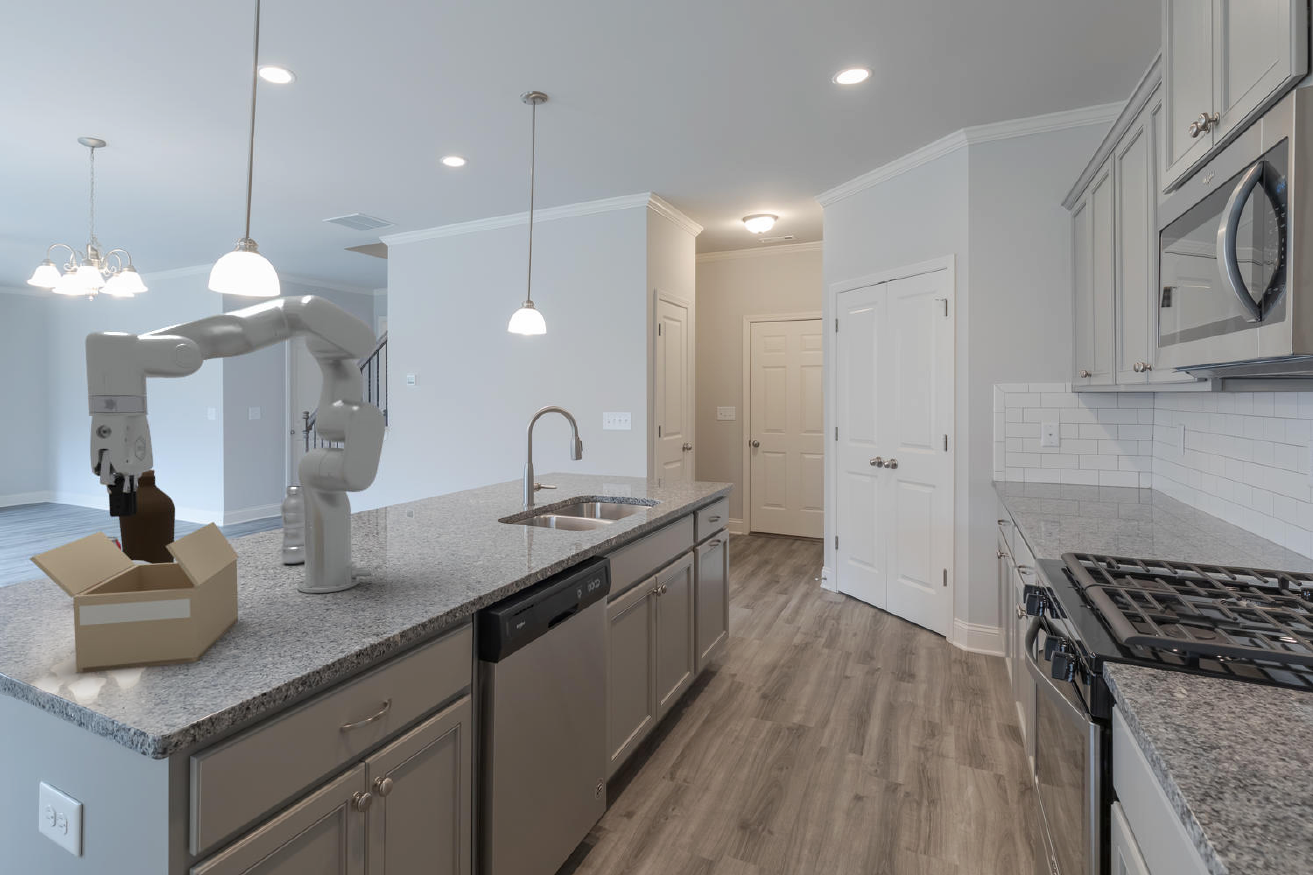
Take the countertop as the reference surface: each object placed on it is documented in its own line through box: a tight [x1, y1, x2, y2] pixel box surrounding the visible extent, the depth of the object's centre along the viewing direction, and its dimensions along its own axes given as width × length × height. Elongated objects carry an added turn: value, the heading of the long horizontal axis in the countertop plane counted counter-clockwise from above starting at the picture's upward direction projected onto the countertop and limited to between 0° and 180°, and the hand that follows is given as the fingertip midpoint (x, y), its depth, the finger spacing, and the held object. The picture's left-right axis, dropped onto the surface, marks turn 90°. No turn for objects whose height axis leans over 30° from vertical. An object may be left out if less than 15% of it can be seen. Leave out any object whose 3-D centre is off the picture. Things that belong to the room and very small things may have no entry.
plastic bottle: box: [280, 485, 305, 565], centre depth 165 cm, size 6×7×20 cm
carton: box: [72, 558, 239, 674], centre depth 110 cm, size 16×20×12 cm
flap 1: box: [29, 530, 135, 598], centre depth 107 cm, size 8×19×1 cm
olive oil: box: [118, 469, 176, 564], centre depth 154 cm, size 11×11×25 cm
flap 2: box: [166, 521, 239, 587], centre depth 111 cm, size 8×19×1 cm
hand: (123, 515), depth 108 cm, fingers closed
